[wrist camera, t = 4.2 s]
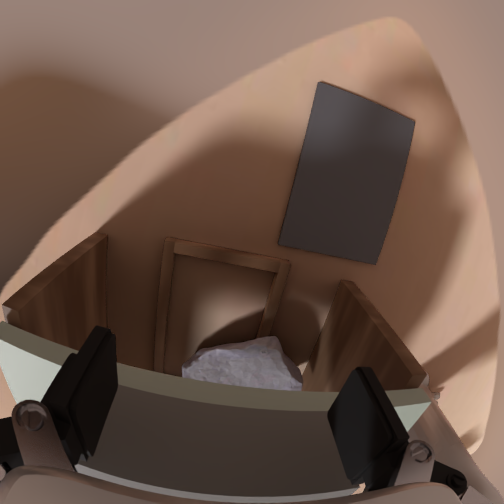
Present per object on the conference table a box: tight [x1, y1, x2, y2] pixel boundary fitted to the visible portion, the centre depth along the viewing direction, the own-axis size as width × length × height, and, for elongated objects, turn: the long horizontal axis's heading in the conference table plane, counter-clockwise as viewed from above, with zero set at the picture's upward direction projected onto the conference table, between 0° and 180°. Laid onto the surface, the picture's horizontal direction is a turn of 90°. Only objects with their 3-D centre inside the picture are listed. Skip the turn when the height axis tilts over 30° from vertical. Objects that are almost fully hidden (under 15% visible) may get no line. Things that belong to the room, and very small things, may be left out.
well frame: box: [2, 232, 427, 392], centre depth 26 cm, size 28×37×15 cm
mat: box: [278, 82, 415, 265], centre depth 26 cm, size 11×16×1 cm
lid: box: [0, 321, 431, 503], centre depth 13 cm, size 28×15×6 cm, turn 77°
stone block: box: [182, 336, 303, 391], centre depth 30 cm, size 12×5×10 cm
